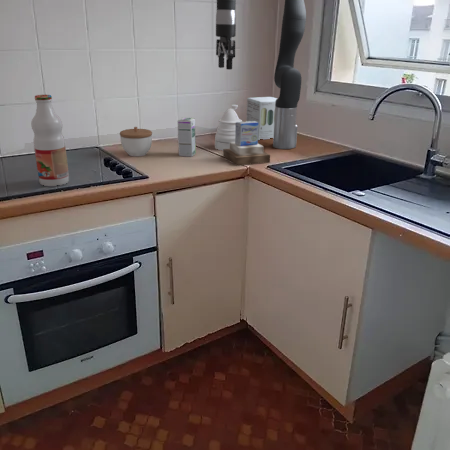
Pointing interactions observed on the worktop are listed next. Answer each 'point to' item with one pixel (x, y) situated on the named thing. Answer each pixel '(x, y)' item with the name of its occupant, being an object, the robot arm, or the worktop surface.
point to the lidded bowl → (136, 141)
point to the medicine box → (246, 133)
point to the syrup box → (186, 137)
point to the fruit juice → (49, 144)
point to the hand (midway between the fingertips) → (225, 68)
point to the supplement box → (262, 115)
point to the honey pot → (227, 129)
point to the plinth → (245, 158)
